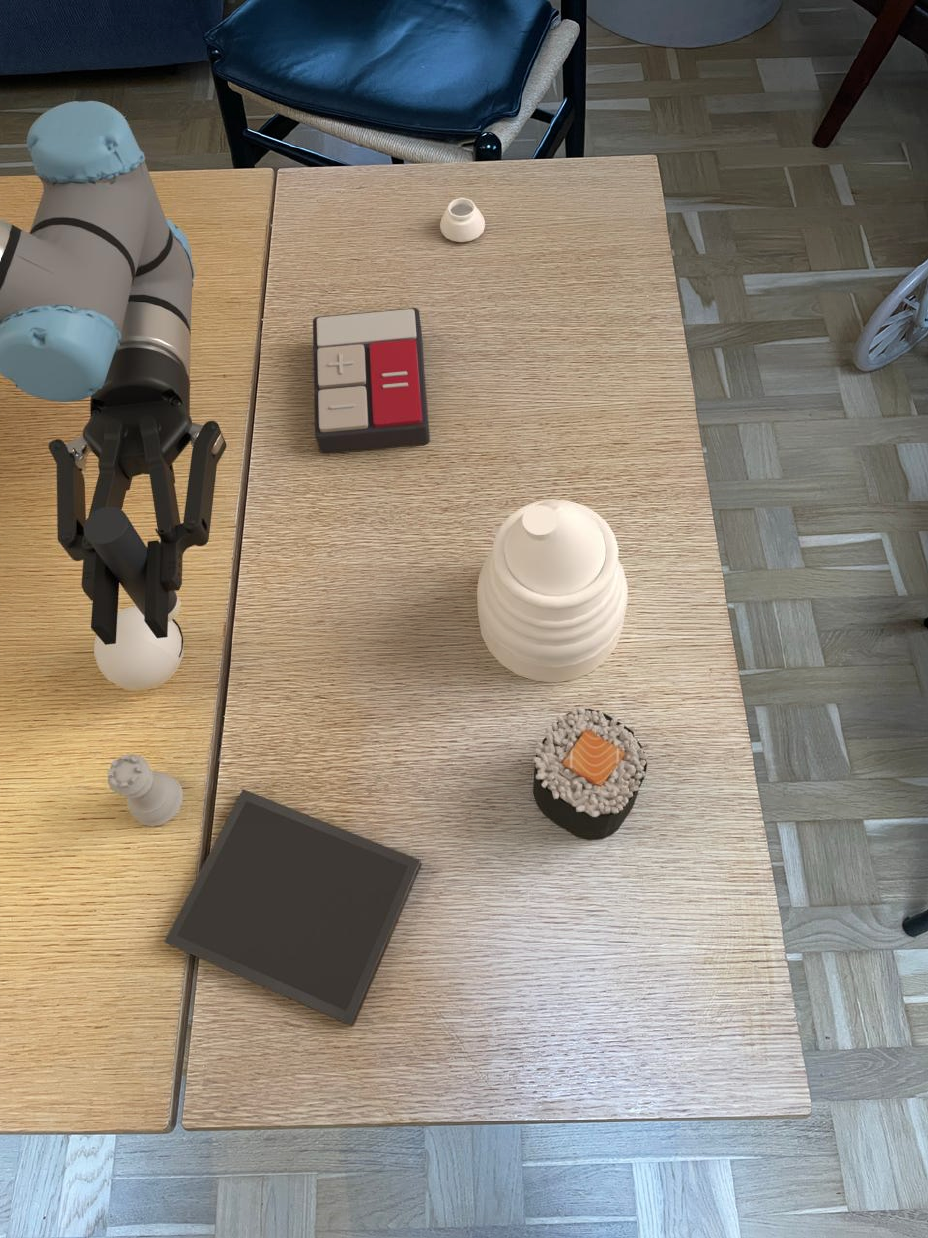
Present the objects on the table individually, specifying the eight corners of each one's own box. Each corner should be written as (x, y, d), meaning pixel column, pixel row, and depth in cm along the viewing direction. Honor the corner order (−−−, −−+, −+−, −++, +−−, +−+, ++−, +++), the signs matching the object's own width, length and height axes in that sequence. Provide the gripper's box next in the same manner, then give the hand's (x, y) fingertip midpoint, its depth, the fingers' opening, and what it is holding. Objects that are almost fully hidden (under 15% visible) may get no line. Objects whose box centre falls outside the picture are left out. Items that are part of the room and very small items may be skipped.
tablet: (168, 944, 76) (162, 941, 75) (246, 793, 82) (242, 788, 80) (353, 1027, 73) (350, 1025, 72) (422, 863, 78) (420, 860, 77)
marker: (136, 617, 77) (75, 536, 66) (155, 586, 78) (98, 501, 67) (169, 629, 76) (112, 548, 65) (188, 597, 77) (135, 513, 67)
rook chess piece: (189, 776, 83) (158, 743, 75) (179, 828, 80) (147, 799, 73) (137, 775, 83) (101, 742, 76) (126, 827, 81) (89, 798, 74)
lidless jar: (436, 241, 110) (479, 247, 110) (434, 220, 108) (478, 225, 107) (446, 210, 112) (489, 216, 112) (445, 189, 110) (488, 194, 109)
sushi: (567, 724, 83) (572, 686, 76) (654, 777, 81) (667, 744, 74) (514, 801, 80) (514, 769, 73) (602, 858, 78) (611, 832, 71)
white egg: (197, 695, 86) (171, 660, 79) (113, 711, 86) (80, 677, 79) (191, 597, 91) (166, 556, 84) (111, 612, 90) (79, 572, 84)
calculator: (313, 432, 94) (311, 311, 100) (321, 458, 98) (318, 339, 104) (427, 422, 94) (418, 301, 100) (430, 448, 98) (421, 329, 104)
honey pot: (556, 711, 84) (566, 613, 68) (449, 620, 88) (433, 508, 72) (652, 612, 88) (682, 497, 72) (544, 530, 92) (550, 405, 76)
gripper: (251, 394, 83) (256, 641, 72) (62, 417, 83) (38, 669, 72) (228, 330, 76) (230, 592, 65) (22, 355, 76) (-11, 622, 65)
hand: (129, 631), depth 69 cm, fingers closed on marker, 3 cm apart
